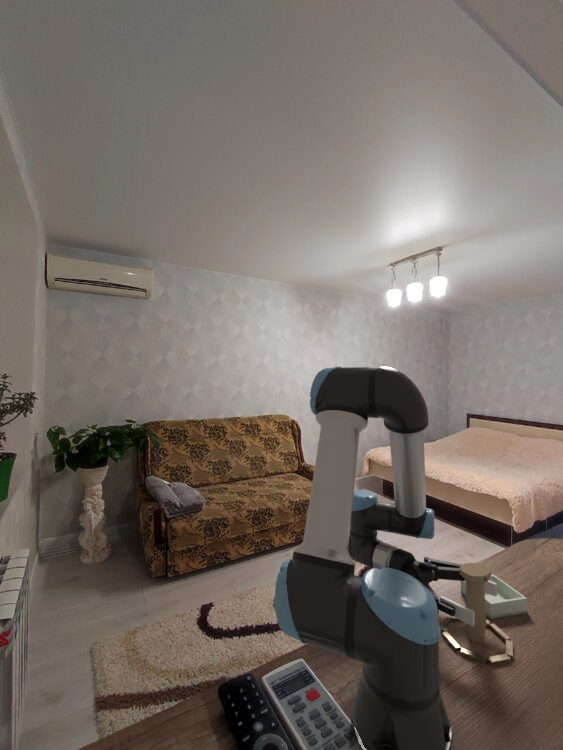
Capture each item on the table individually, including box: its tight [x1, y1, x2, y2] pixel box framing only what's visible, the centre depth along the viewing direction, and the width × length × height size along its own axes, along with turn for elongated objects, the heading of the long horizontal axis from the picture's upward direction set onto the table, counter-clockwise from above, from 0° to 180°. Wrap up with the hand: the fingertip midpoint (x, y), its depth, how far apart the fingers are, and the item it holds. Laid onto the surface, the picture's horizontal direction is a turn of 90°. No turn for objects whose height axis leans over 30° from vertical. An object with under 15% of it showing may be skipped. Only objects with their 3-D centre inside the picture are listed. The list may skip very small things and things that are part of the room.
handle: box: [459, 562, 492, 645], centre depth 73 cm, size 5×6×15 cm
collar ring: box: [440, 614, 514, 667], centre depth 73 cm, size 13×13×1 cm
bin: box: [460, 574, 528, 620], centre depth 85 cm, size 10×10×4 cm
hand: (486, 603), depth 72 cm, fingers open, 13 cm apart
